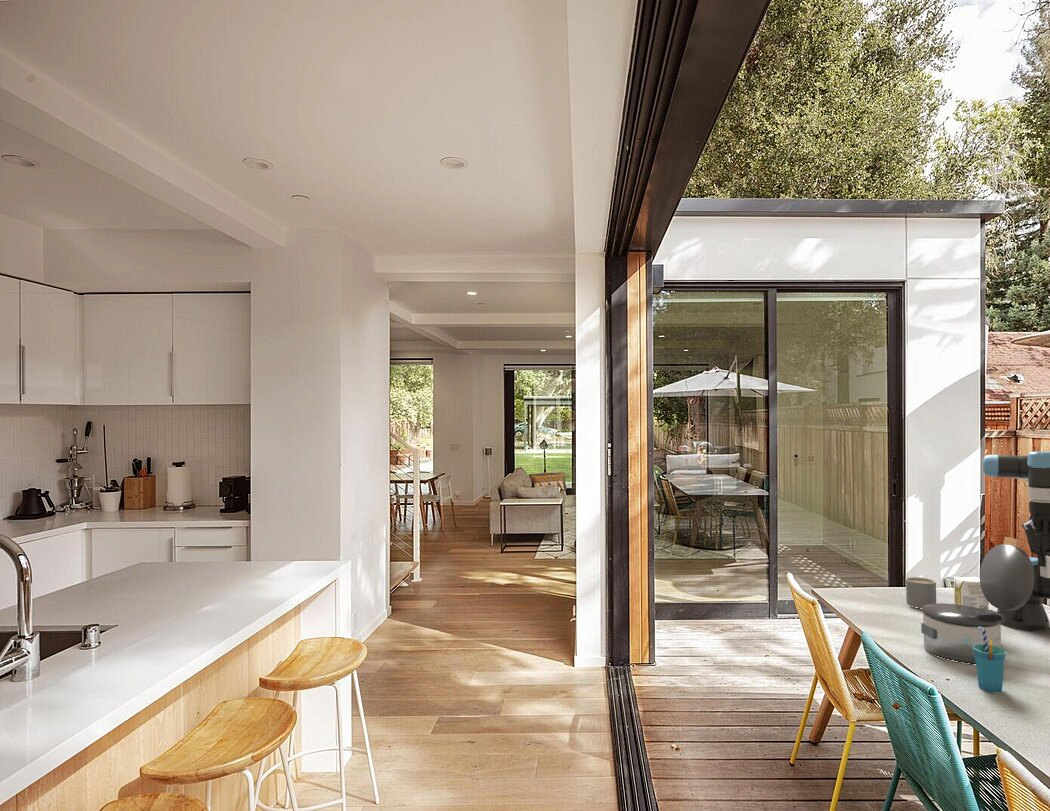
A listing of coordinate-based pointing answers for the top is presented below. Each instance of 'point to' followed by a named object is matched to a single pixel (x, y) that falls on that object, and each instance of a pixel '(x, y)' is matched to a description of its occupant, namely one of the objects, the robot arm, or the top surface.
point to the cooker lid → (1007, 575)
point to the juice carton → (969, 592)
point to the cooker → (959, 630)
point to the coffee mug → (920, 591)
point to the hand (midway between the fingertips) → (1046, 576)
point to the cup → (989, 665)
